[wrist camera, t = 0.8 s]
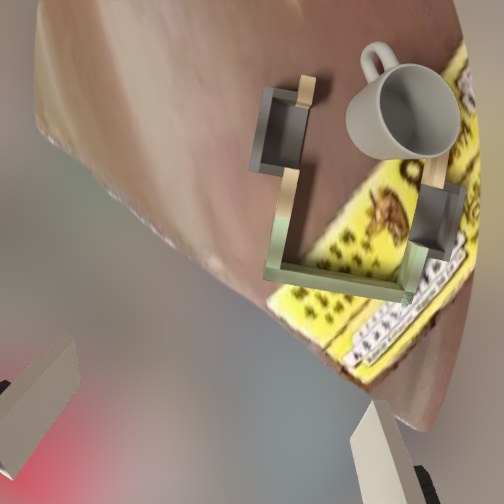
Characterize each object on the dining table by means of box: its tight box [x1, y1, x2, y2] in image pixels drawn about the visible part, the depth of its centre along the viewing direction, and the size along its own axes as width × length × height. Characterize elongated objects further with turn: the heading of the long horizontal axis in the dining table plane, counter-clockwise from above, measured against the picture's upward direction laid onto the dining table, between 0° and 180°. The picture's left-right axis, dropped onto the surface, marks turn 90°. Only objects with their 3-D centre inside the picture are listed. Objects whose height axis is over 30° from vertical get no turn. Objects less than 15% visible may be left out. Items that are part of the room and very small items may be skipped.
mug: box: [346, 41, 461, 160], centre depth 26 cm, size 12×8×11 cm
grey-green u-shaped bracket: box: [249, 75, 467, 304], centre depth 33 cm, size 22×25×3 cm
